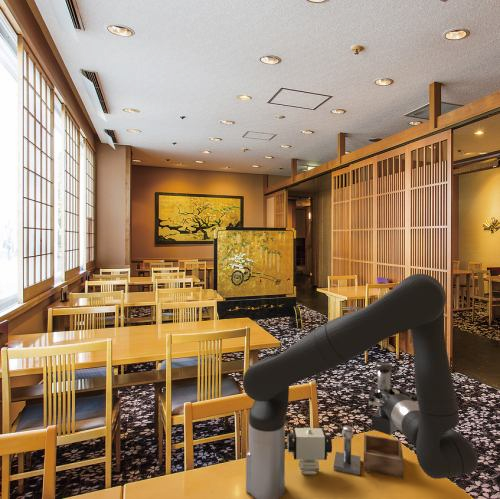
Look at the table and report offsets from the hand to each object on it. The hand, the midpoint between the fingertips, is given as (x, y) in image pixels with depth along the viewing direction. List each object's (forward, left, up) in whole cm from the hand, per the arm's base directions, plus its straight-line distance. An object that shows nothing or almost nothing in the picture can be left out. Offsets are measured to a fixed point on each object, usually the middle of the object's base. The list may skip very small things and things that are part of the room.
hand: (379, 388), depth 103 cm
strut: (+1, -3, -10) cm, 11 cm away
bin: (+1, -3, -21) cm, 21 cm away
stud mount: (-9, -7, -21) cm, 23 cm away
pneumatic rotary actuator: (-19, -13, -21) cm, 31 cm away
